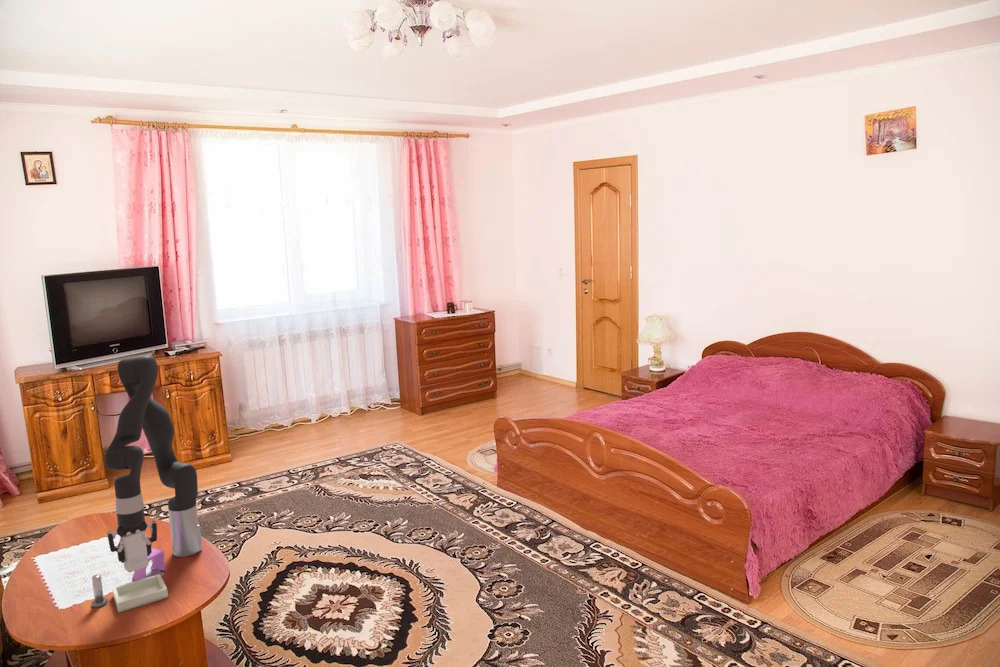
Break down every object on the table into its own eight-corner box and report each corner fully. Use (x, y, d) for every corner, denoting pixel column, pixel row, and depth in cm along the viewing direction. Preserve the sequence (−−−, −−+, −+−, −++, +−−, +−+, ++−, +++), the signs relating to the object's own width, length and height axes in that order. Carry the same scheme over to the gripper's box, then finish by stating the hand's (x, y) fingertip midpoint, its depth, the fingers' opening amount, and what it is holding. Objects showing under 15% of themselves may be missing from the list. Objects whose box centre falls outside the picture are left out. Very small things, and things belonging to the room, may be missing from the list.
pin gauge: (106, 598, 222) (103, 571, 220) (108, 604, 218) (105, 577, 217) (90, 603, 219) (87, 575, 218) (92, 609, 216) (89, 581, 214)
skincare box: (143, 562, 224) (139, 526, 223) (149, 566, 222) (145, 530, 220) (123, 569, 220) (119, 533, 218) (129, 573, 217) (125, 537, 215)
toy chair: (169, 569, 240) (164, 528, 237) (148, 582, 231) (144, 540, 229) (150, 566, 242) (145, 525, 240) (129, 578, 234) (124, 536, 232)
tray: (160, 582, 231) (159, 573, 231) (168, 597, 221) (167, 588, 221) (113, 596, 223) (112, 587, 223) (118, 612, 213) (117, 603, 213)
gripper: (153, 499, 225) (158, 547, 227) (102, 510, 217) (108, 560, 219) (157, 506, 219) (162, 556, 221) (105, 518, 211) (111, 569, 213)
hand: (135, 558), depth 220 cm, fingers closed on skincare box, 6 cm apart
